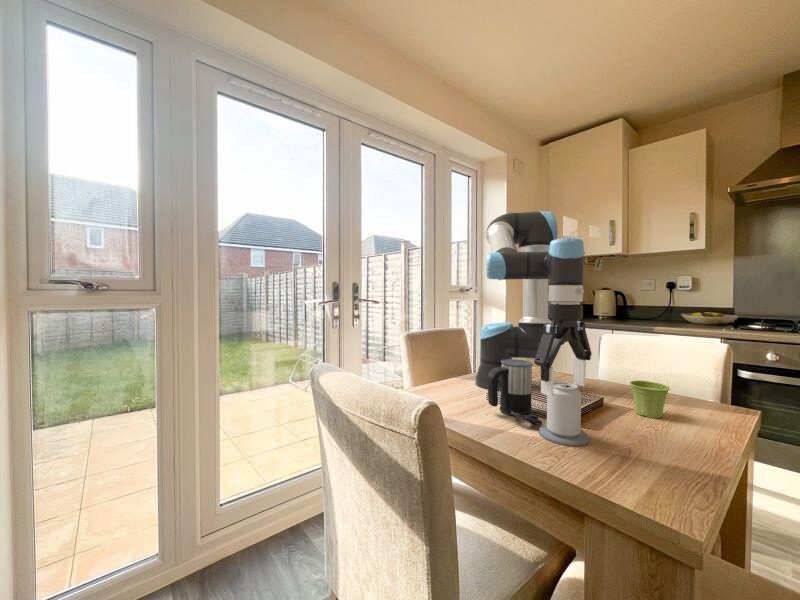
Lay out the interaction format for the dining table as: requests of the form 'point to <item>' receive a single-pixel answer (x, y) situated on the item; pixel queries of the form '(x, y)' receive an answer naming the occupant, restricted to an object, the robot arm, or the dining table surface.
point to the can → (564, 410)
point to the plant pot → (649, 398)
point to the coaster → (574, 441)
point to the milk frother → (513, 389)
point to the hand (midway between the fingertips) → (563, 389)
